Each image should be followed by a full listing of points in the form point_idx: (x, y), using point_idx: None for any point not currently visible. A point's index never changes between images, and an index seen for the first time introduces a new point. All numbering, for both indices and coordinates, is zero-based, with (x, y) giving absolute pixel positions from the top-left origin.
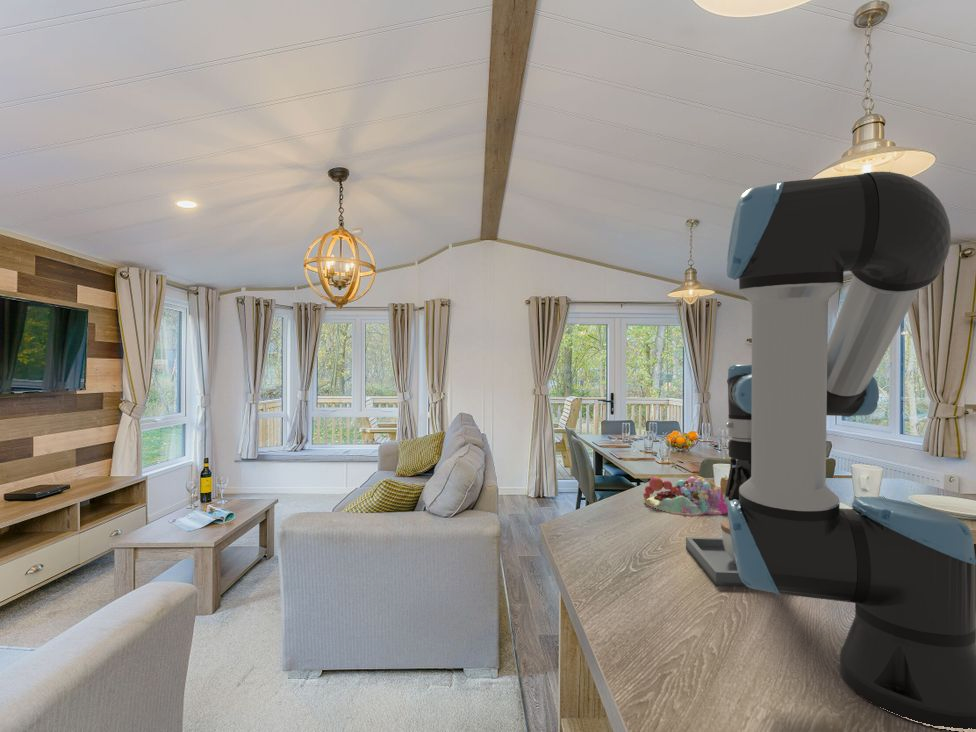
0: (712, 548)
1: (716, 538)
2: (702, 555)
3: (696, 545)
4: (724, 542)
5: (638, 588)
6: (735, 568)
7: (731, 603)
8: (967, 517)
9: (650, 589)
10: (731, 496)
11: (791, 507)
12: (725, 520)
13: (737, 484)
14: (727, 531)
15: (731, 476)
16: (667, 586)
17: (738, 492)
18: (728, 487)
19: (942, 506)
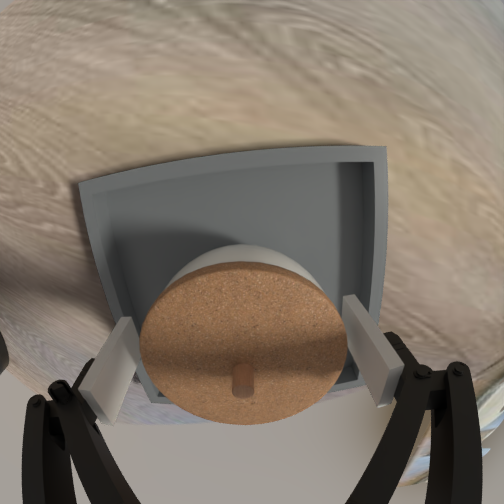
0: (356, 222)
1: (381, 245)
2: (201, 160)
3: (304, 159)
4: (225, 249)
5: (68, 28)
6: (197, 249)
7: (34, 200)
8: (417, 483)
9: (64, 48)
10: (406, 395)
11: None
12: (312, 300)
13: (352, 493)
14: (187, 275)
15: (451, 481)
16: (77, 74)
17: (380, 441)
18: (457, 408)
19: None
